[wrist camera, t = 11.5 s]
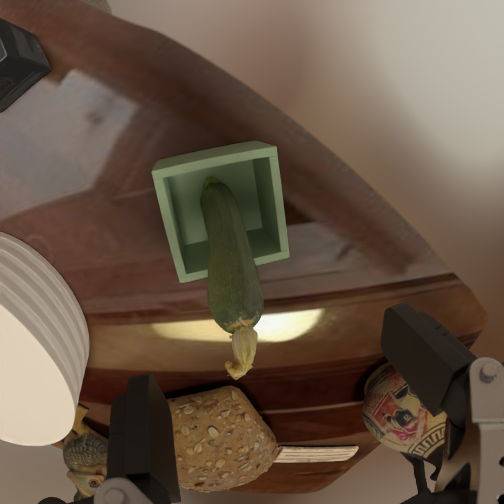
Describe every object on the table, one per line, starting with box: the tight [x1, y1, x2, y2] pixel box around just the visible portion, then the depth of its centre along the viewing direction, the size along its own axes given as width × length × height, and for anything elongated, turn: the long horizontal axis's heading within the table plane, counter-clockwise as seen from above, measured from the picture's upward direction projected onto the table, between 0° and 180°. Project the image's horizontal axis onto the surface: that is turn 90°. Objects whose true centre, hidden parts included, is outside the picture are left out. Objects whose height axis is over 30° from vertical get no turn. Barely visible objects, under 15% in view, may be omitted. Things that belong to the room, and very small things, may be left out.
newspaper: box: [273, 446, 358, 462], centre depth 61 cm, size 24×7×2 cm, turn 61°
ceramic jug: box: [362, 362, 447, 494], centre depth 42 cm, size 17×15×30 cm
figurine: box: [61, 404, 109, 501], centre depth 38 cm, size 14×15×15 cm
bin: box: [152, 141, 289, 283], centre depth 31 cm, size 11×11×8 cm
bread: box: [166, 385, 279, 493], centre depth 44 cm, size 24×21×12 cm
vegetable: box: [200, 176, 264, 380], centre depth 27 cm, size 4×4×20 cm
